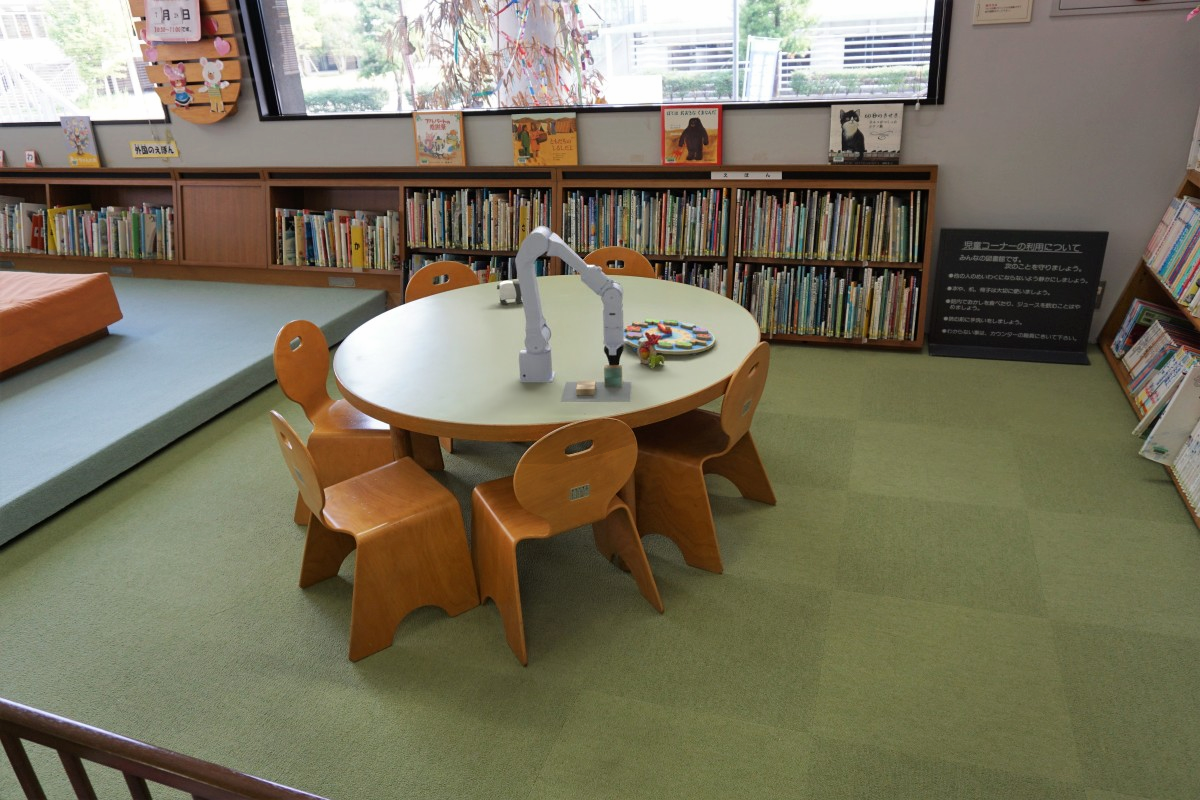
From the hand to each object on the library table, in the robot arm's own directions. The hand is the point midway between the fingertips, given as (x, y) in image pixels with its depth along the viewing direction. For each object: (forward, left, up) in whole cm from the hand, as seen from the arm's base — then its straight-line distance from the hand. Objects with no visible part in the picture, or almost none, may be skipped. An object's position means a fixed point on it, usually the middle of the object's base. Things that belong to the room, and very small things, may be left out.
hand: (614, 370), depth 235 cm
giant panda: (-42, +79, -3) cm, 90 cm away
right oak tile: (0, -6, -2) cm, 6 cm away
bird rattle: (+10, +11, -3) cm, 15 cm away
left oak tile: (-8, -7, -2) cm, 10 cm away
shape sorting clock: (+16, +32, -3) cm, 36 cm away
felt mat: (-5, -10, -3) cm, 11 cm away
